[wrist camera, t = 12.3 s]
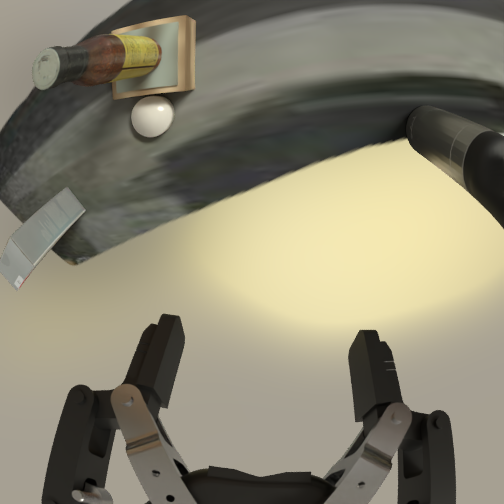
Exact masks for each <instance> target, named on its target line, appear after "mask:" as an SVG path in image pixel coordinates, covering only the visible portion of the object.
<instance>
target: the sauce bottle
mask: <svg viewBox="0 0 504 504" xmlns="http://www.w3.org/2000/svg"><path fill="white" fill-rule="evenodd" d="M161 58H162V49H161V47H160V45H159V44H158V42H157V41H155V40H154V39H152V38H148V37H144V36H133V35H117V34H102V35H97V36H94V37H91V38H89V39H87V40H85V41H83V42H81V43H79V44H77V45H74V46H72V47H60V46H55V47H50V48H47V49H45V50H43V51H42V52H41V53H40V54H39V55H38V56H37V58H36V60H35V61H34V64H33V67H32V78H33V82H34V84H35V86H36V87H37V88H38V89H40V90H47V89H51V88H54V87H56V86H58V85H59V84H61V83H65V82H72V83H74V84H75V85H80V86H94V85H98V84H105V83H110V82H114V81H119V80H123V79H129V78H134V77H139V76H143V75H147V74H148V73H150V72H152V71H153V70H154V69H155V68H156V67H157V66H158V65H159V63H160V61H161Z"/></svg>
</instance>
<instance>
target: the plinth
mask: <svg viewBox="0 0 504 504" xmlns="http://www.w3.org/2000/svg"><path fill="white" fill-rule="evenodd" d="M195 32H196V21H195V20H193V19H192V18H190V17H188V16H186V15H184V16H177V17H171V18H165V19H160V20H154V21H150V22H145V23H141V24H136V25H132V26H128V27H125V28H121V29H117V30H114V31H112V34H117V35H133V36H144V37H148V38H152V39H154V40H155V41H157V42H158V44H159V45H160V47H161V49H162V58H161V61H160V63H159V65H158V66H157V67H156V68H155V69H154V70H153V71H152V72H150V73H148V74H147V75H143V76H139V77H134V78H129V79H123V80H119V81H114V82H112V90H113V100H116V99H122V98H128V97H134V96H141V95H149V94H157V93H167V92H178V91H187V90H192V89H195Z"/></svg>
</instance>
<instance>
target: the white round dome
mask: <svg viewBox="0 0 504 504" xmlns="http://www.w3.org/2000/svg"><path fill="white" fill-rule="evenodd" d="M174 117H175V111H174V107H173V105H172V103H171V102H170V101H169V100H168V99H167V98H165V97H163V96H160V95H153V96H149V97H145V98H143V99H141V100H139V101H138V102H137V103H136V105H135V106H134V108H133V110H132V115H131V120H132V124H133V127H134V128H135V130H136V131H137V132H138V133H139V134H141V135H143V136H145V137H155V136H158V135H160V134H162V133H163V132H165V131H167V130H168V129H169V128H170V127H171V125H172V123H173V121H174Z"/></svg>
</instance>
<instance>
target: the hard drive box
mask: <svg viewBox="0 0 504 504" xmlns="http://www.w3.org/2000/svg"><path fill="white" fill-rule="evenodd" d="M85 211H86V210H85V208H84V207H83V206H82V205H81V203H80V202H79V201H78V200H77V198H76V197H75V196H74V194H73V193H72V192H71V191H70V189H69V188H68V187H66V188H65V189H63V190H62V191H61V192H59V193H58V194H57V195H56V196H55V197H53V198H52V199H51V200H50V201H49V202H47V203H46V204H45V205H44V206H43V207H41V208H40V209H39V210H38V211H37V212H36V213H35V214H34V215H32V216H31V217H30V218H29V219H28V220H27V221H26V222H25V223H24V224H23V225H22V226H21V227H20V228H19V229H17V230H16V231H15V233H13V234H12V235H11V236H10V238H9V239H8V242H7V244H6V246H5V249H4V251H3V253H2V256H1V258H0V272H1V273H2V275H3V276H4V277H5V278H6V279H7V280H8V282H9V283H10V284H11V285H12V286H13V287H14V288H15V289H16V290H17V291H18V289H19V288H20V287H21V285H22V284H23V283H24V281H25V280H26V279H27V277H28V276H29V275H30V273H31V272H32V271H33V270H34V268H35V267H36V266H37V265H38V264H39V262H40V261H41V260H42V259H43V258H44V256H45V255H46V254H47V253H48V252H49V251H50V249H51V248H52V247H53V246H54V245H55V244H56V243H57V241H58V240H59V239H60V238H61V237H62V236H63V235H64V234H65V232H66V231H67V230H68V229H69V228H70V227H71V226H72V225H73V224H74V223H75V222H76V221H77V219H78V218H79V217H80V216H81V215H82V214H83V213H84V212H85Z"/></svg>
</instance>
